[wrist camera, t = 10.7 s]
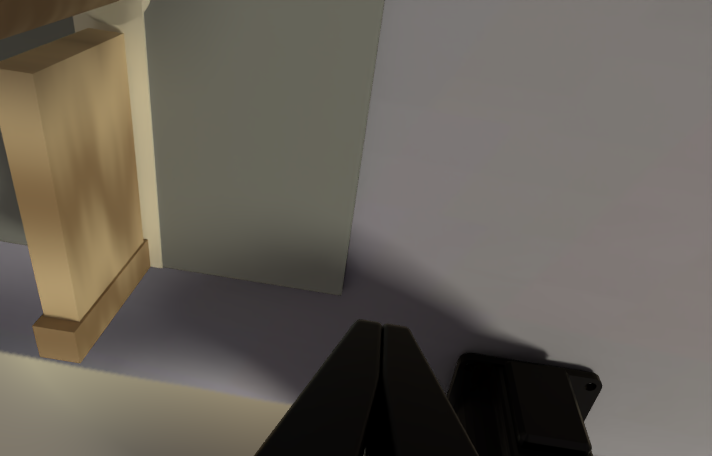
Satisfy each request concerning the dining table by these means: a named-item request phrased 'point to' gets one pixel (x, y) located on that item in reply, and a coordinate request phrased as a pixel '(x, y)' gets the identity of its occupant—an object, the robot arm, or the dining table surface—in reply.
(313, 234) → the card
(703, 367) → the dining table surface
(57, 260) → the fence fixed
